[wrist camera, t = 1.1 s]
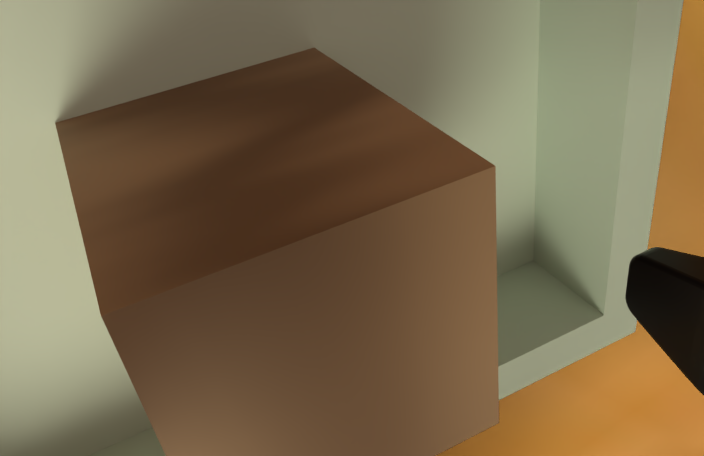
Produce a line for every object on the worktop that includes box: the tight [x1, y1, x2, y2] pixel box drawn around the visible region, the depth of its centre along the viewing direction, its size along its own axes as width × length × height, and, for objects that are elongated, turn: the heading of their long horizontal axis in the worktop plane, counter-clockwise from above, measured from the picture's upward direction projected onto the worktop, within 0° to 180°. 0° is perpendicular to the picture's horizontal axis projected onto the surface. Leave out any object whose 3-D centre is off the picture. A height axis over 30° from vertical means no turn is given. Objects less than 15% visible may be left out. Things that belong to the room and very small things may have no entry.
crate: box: [0, 0, 683, 456], centre depth 13 cm, size 18×12×3 cm, turn 98°
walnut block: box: [55, 48, 499, 456], centre depth 11 cm, size 5×5×6 cm
